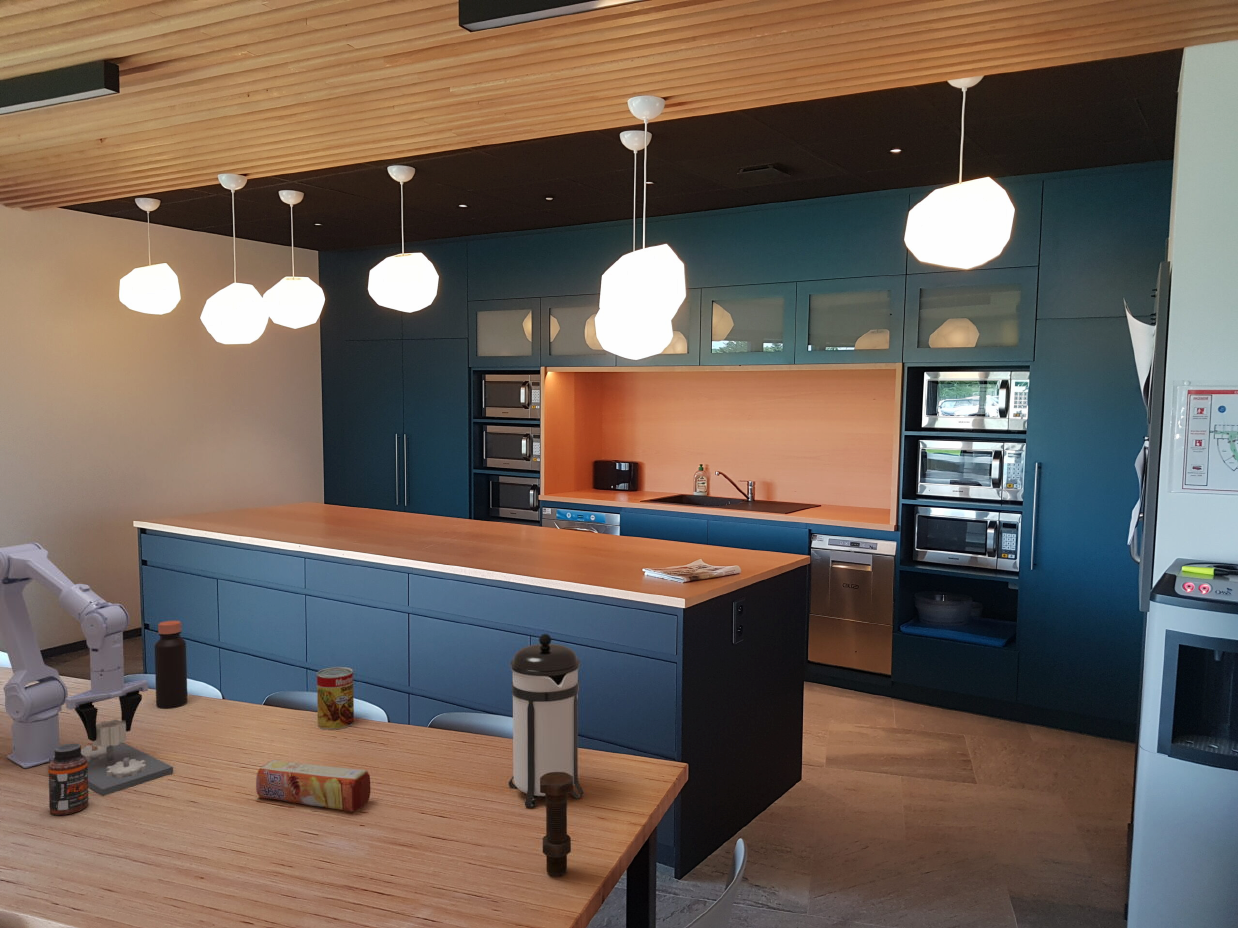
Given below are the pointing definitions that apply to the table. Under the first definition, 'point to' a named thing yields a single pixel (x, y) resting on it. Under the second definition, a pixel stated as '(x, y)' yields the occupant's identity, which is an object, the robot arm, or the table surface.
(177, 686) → the vinegar
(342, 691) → the canned food
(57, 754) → the supplement bottle
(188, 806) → the table surface
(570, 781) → the bolt
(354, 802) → the snack package
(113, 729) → the idler gear
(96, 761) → the gear board
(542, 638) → the coffee press
